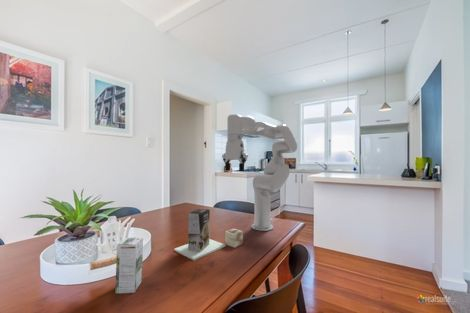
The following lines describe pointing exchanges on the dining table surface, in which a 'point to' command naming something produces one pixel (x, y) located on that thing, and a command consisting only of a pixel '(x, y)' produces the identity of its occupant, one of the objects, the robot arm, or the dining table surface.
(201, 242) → the coffee box
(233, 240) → the birch cube
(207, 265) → the dining table surface
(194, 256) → the sage mat
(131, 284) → the syrup box
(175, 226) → the dining table surface
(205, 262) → the dining table surface
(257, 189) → the robot arm
